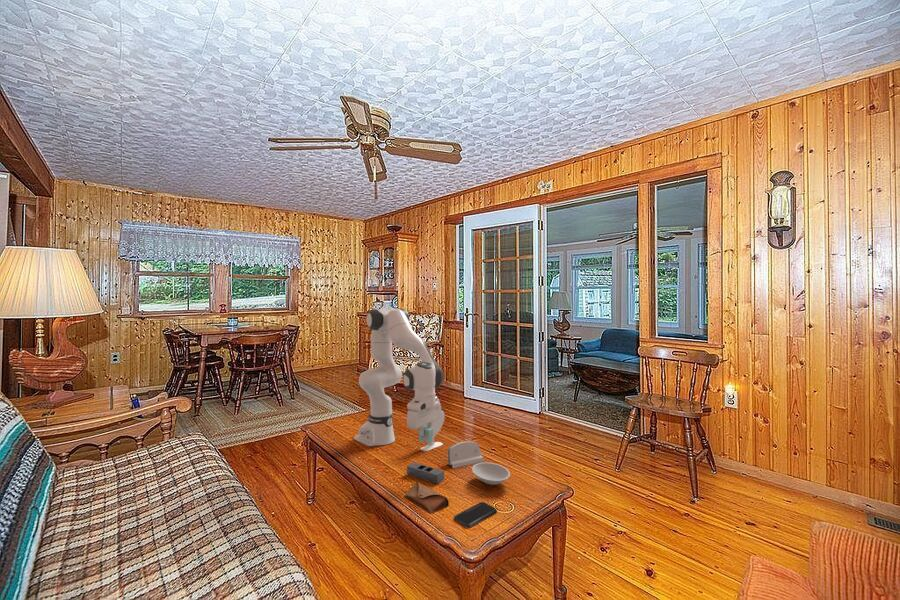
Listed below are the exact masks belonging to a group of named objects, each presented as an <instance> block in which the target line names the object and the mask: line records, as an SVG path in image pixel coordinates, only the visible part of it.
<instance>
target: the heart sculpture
mask: <svg viewBox="0 0 900 600" xmlns="http://www.w3.org/2000/svg"><path fill="white" fill-rule="evenodd" d="M445 416H446V414H445V411H444V410H442V409H441V417H440V418H438V419H436V420H434V421H433V424H432V427H431V428H433V436H432V443H431V444H426V445H425V446H422V447H420V450H421V451H424V452H428V451H430V450H433V449H435V448H438V447H440V446H442V445H444V443H443V442H440V441H435V437H436V436H437V435H438V433H439V432H440V431H441V429H442V427H443V426H444V425H443V424H444V422H445ZM424 427H427V424H426V425H424Z"/></svg>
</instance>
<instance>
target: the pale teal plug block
mask: <svg viewBox="0 0 900 600" xmlns="http://www.w3.org/2000/svg"><path fill="white" fill-rule="evenodd" d="M423 430H424V431H425V435H423V436H420V431H419V429H418V428H417V435H418V442H419V443H424V442H425V444H426V445H430V444H431V443H432V436H433V428H428V427H424V428H423Z"/></svg>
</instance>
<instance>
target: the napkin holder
mask: <svg viewBox="0 0 900 600" xmlns="http://www.w3.org/2000/svg"><path fill="white" fill-rule="evenodd" d="M483 462H485V461H484V456H483V455H482V451H481V449H480V445H479V443H477V442H475V441H470V440H469V441H461V442H457V443H455V444H452V445H451V446H449V447H448V448H447V465H450V466H451V467H452V469H456V468H460V467H461V466H462V467H465V466H470V465H473V464H474V465H475V464H478V463H483ZM462 467H461V468H462Z"/></svg>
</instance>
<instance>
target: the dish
mask: <svg viewBox="0 0 900 600" xmlns="http://www.w3.org/2000/svg"><path fill="white" fill-rule="evenodd" d="M471 471H472V473H473V474H474V475H475V476H476V477H477V479H479V481H480V482H482V483H485V484H487V485H490V486H494V485H495V486H497V485H501V484H502V483H504V482H505V481H507V480H508V479H509V478H510V476H511V472H510V470H509V469H508V468H507V467H505V466H503V465H502V464H499V463H494V462H487V461H486V462H485V461H484V462H479V463H475V464H474V465H473V466H472V467H471Z"/></svg>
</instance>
